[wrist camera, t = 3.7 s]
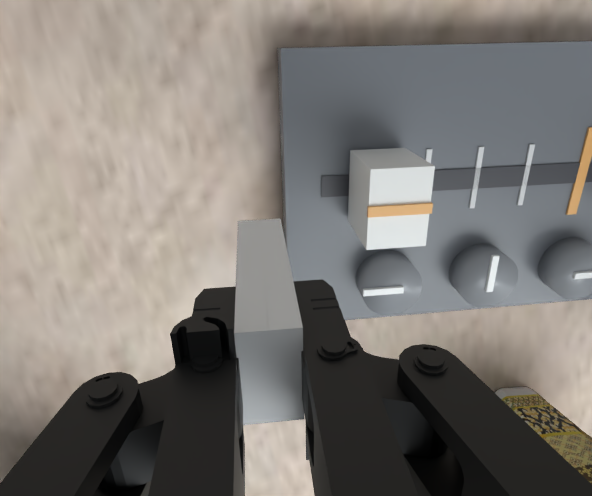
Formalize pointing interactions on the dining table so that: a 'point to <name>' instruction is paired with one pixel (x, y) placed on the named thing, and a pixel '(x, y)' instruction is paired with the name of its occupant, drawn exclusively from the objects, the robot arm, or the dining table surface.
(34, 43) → the dining table surface
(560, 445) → the ceramic cup
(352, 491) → the robot arm
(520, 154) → the console
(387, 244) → the fader cap
